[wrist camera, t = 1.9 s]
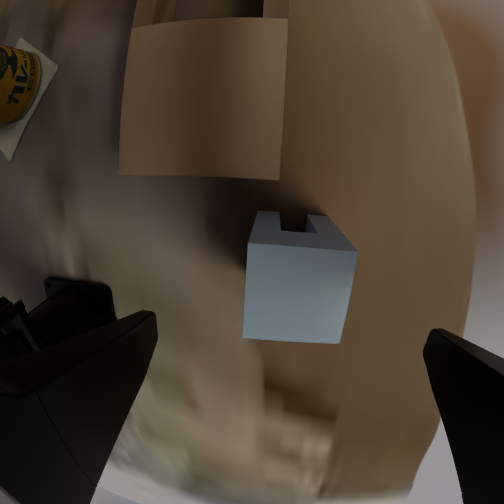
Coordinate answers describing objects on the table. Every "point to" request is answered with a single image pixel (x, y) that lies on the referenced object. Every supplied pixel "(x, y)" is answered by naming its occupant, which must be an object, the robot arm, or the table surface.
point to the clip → (297, 280)
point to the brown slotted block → (204, 94)
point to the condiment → (20, 89)
